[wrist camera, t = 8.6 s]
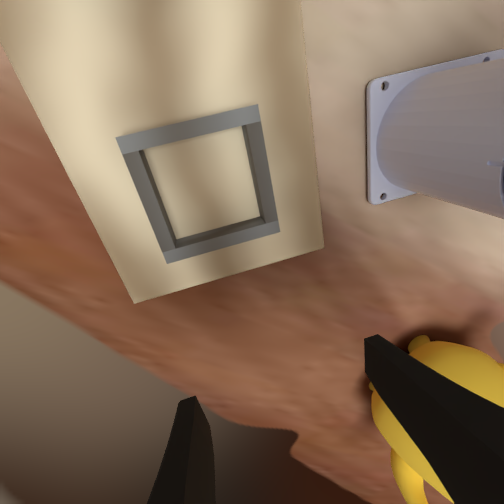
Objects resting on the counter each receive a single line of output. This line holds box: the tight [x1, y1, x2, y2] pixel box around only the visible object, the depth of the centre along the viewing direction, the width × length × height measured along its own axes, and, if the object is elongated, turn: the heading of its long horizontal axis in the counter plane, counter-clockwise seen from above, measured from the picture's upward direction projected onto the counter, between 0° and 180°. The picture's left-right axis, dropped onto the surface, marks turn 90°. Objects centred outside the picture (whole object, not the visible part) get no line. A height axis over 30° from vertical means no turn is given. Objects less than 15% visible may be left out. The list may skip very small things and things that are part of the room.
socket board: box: [0, 0, 324, 304], centre depth 13 cm, size 14×26×2 cm, turn 12°
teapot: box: [369, 335, 504, 504], centre depth 25 cm, size 13×20×12 cm
